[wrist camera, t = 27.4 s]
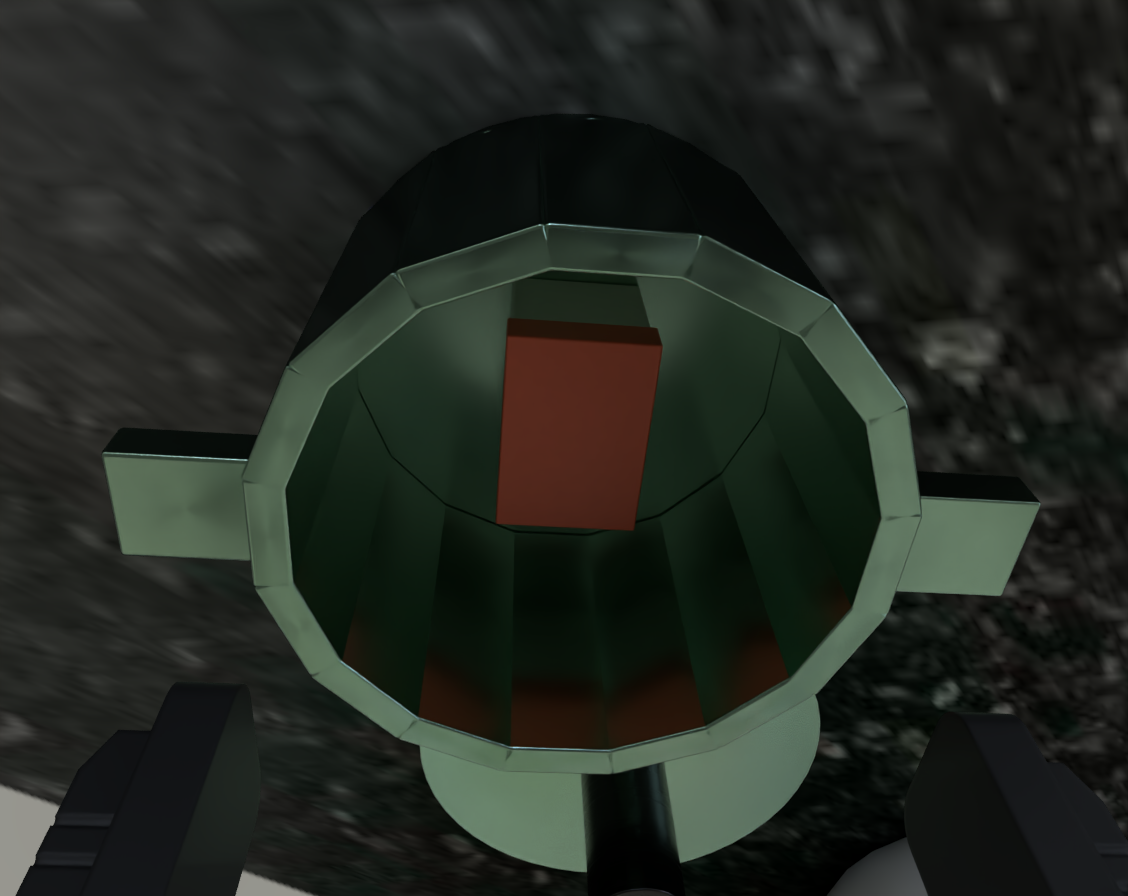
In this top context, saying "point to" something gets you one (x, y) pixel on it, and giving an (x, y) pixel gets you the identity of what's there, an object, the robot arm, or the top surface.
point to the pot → (560, 554)
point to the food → (575, 405)
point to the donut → (882, 874)
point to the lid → (632, 806)
